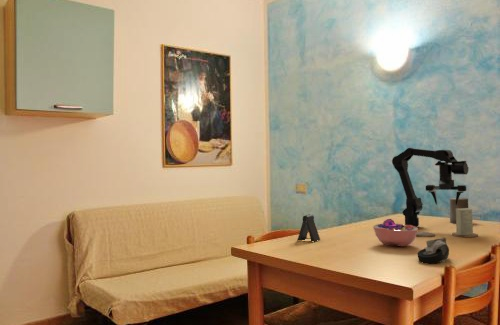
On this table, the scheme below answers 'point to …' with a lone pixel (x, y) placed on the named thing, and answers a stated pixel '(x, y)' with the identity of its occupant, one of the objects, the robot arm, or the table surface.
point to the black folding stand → (308, 229)
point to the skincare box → (464, 221)
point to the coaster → (424, 234)
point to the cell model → (395, 233)
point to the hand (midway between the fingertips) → (446, 204)
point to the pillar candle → (460, 204)
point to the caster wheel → (434, 251)
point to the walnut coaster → (465, 235)
